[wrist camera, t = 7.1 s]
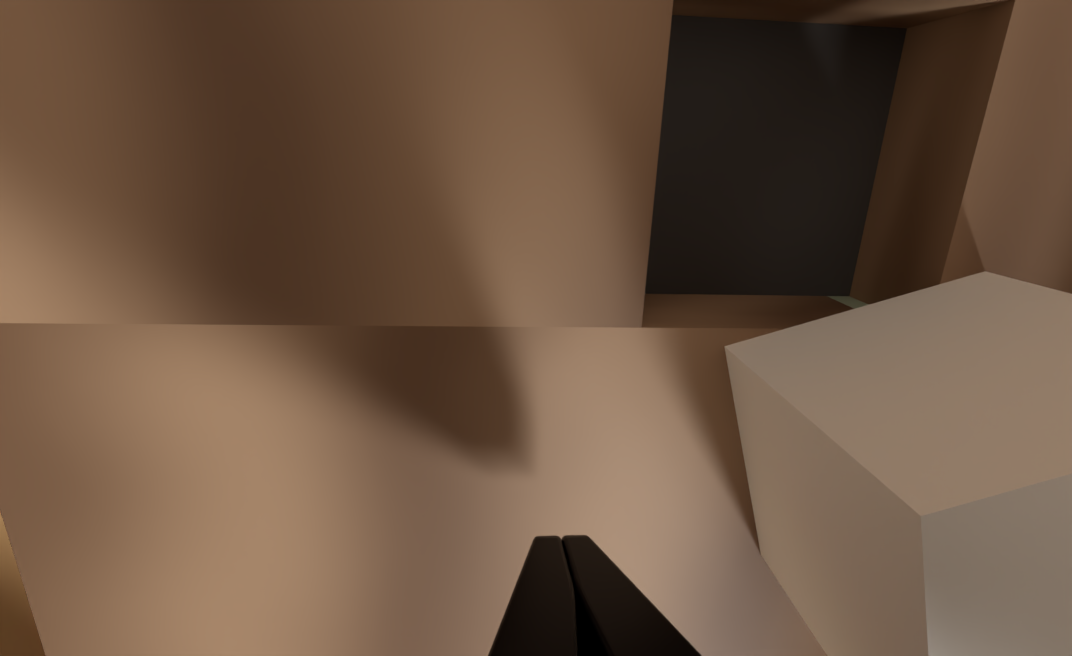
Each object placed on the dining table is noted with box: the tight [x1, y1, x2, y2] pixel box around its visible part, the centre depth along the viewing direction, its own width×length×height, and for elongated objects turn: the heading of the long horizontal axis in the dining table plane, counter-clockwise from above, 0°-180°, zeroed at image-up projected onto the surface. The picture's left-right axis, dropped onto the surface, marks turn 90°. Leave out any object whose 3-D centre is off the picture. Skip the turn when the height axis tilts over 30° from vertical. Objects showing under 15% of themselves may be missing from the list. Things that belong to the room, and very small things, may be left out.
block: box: [724, 271, 1072, 656], centre depth 8 cm, size 4×4×4 cm
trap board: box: [0, 0, 1072, 656], centre depth 10 cm, size 20×18×5 cm
